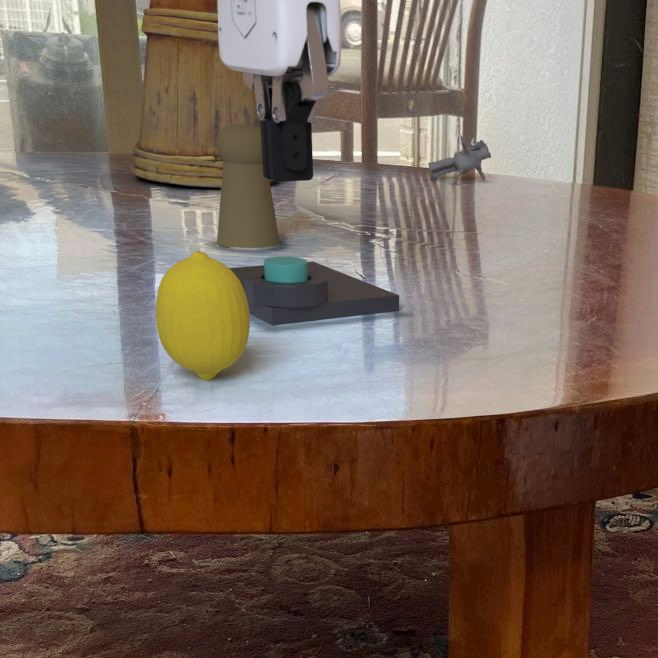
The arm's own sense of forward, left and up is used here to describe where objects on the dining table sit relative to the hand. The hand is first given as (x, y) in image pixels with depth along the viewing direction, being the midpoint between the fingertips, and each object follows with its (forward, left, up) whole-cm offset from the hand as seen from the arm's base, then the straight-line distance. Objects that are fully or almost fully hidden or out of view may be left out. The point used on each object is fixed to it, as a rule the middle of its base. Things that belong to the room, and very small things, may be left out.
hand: (288, 178), depth 81 cm
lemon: (-12, -12, -10) cm, 20 cm away
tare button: (0, 0, -8) cm, 8 cm away
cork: (+10, +28, -10) cm, 31 cm away
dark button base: (+3, +5, -10) cm, 11 cm away
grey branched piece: (+59, +61, -10) cm, 85 cm away
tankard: (+26, +68, -10) cm, 73 cm away
